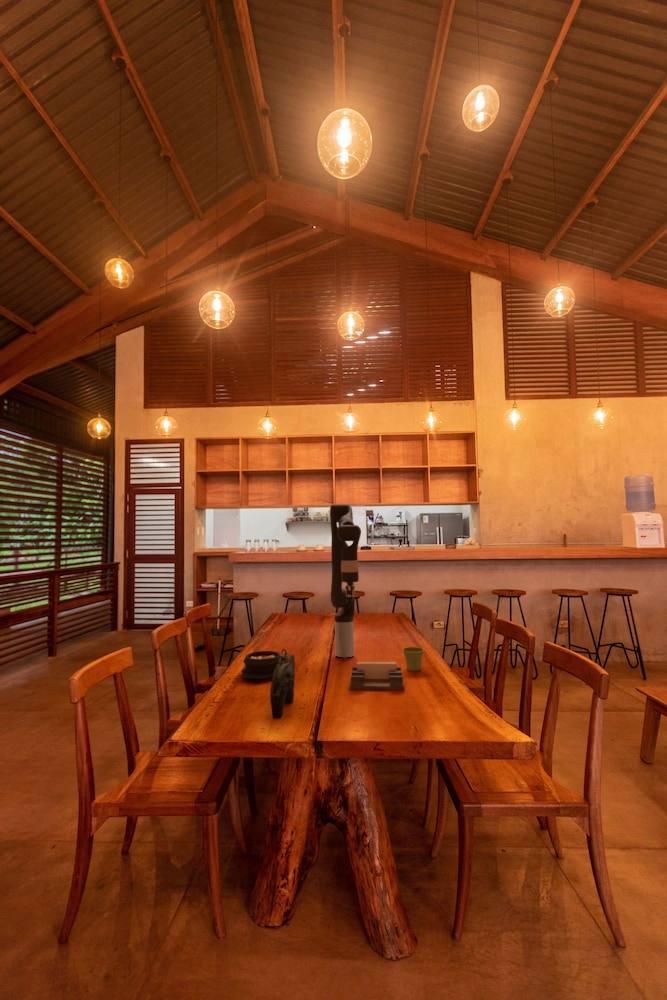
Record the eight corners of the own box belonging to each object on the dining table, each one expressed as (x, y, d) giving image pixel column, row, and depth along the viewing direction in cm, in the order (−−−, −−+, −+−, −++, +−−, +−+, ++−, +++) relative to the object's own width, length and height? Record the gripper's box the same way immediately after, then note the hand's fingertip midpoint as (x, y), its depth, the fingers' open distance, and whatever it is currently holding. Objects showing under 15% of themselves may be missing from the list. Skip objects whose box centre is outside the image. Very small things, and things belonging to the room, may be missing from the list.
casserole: (275, 684, 193) (274, 663, 194) (231, 682, 196) (231, 662, 197) (291, 667, 218) (290, 648, 218) (252, 665, 221) (252, 647, 221)
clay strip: (357, 676, 195) (357, 661, 196) (396, 676, 194) (395, 662, 195) (357, 678, 193) (356, 663, 193) (396, 678, 192) (396, 663, 192)
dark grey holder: (351, 678, 198) (351, 666, 198) (402, 679, 196) (401, 666, 196) (349, 689, 184) (349, 676, 184) (404, 690, 182) (404, 676, 183)
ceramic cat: (282, 698, 176) (282, 643, 177) (299, 699, 175) (299, 643, 176) (266, 719, 157) (266, 657, 158) (285, 720, 156) (285, 658, 157)
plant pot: (425, 672, 204) (424, 652, 205) (403, 672, 206) (402, 651, 206) (424, 666, 213) (423, 647, 214) (403, 666, 215) (402, 646, 215)
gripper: (357, 572, 199) (358, 611, 198) (358, 569, 214) (359, 605, 212) (340, 572, 200) (340, 611, 199) (342, 569, 214) (343, 605, 213)
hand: (350, 608), depth 206 cm, fingers open, 8 cm apart
